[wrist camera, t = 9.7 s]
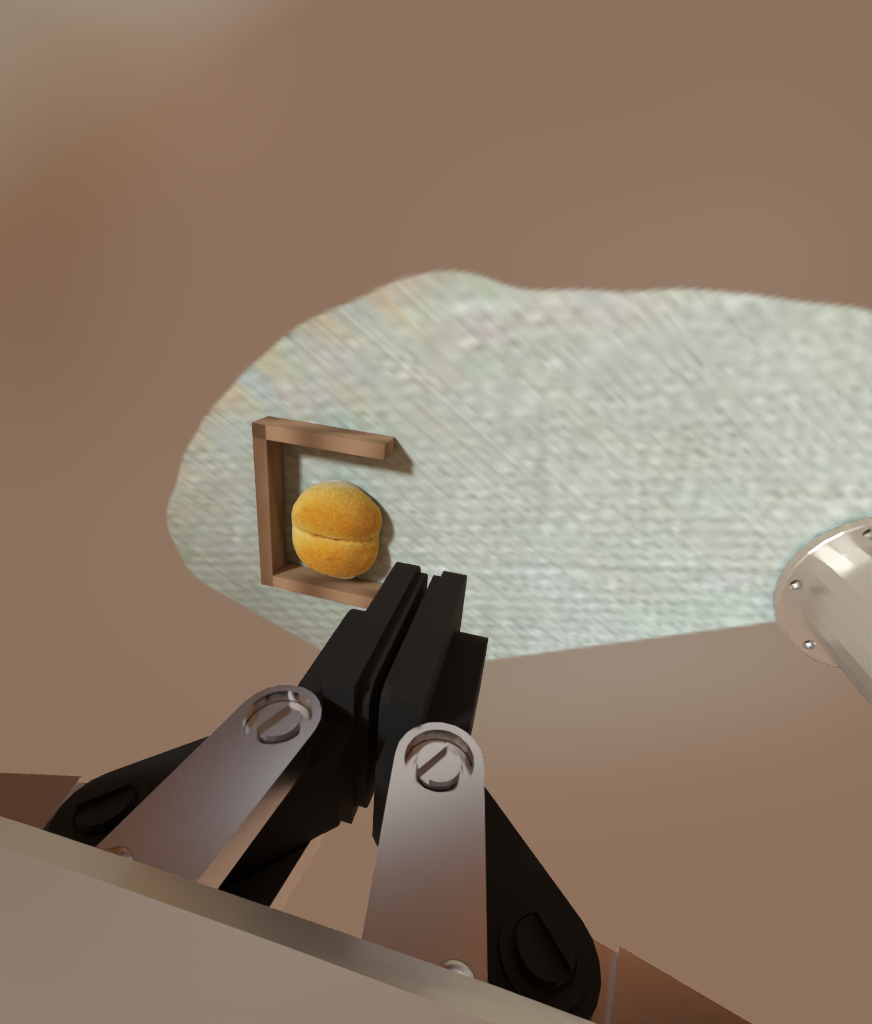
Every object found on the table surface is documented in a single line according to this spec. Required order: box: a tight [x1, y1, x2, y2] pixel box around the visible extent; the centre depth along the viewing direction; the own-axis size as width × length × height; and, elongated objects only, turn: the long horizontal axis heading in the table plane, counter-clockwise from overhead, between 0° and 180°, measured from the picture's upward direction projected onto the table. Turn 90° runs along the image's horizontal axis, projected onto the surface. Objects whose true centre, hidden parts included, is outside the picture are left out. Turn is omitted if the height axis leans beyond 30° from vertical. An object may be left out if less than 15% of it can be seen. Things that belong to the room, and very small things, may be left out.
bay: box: [252, 416, 395, 608], centre depth 41 cm, size 11×15×2 cm
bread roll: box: [291, 480, 382, 579], centre depth 41 cm, size 8×9×4 cm
